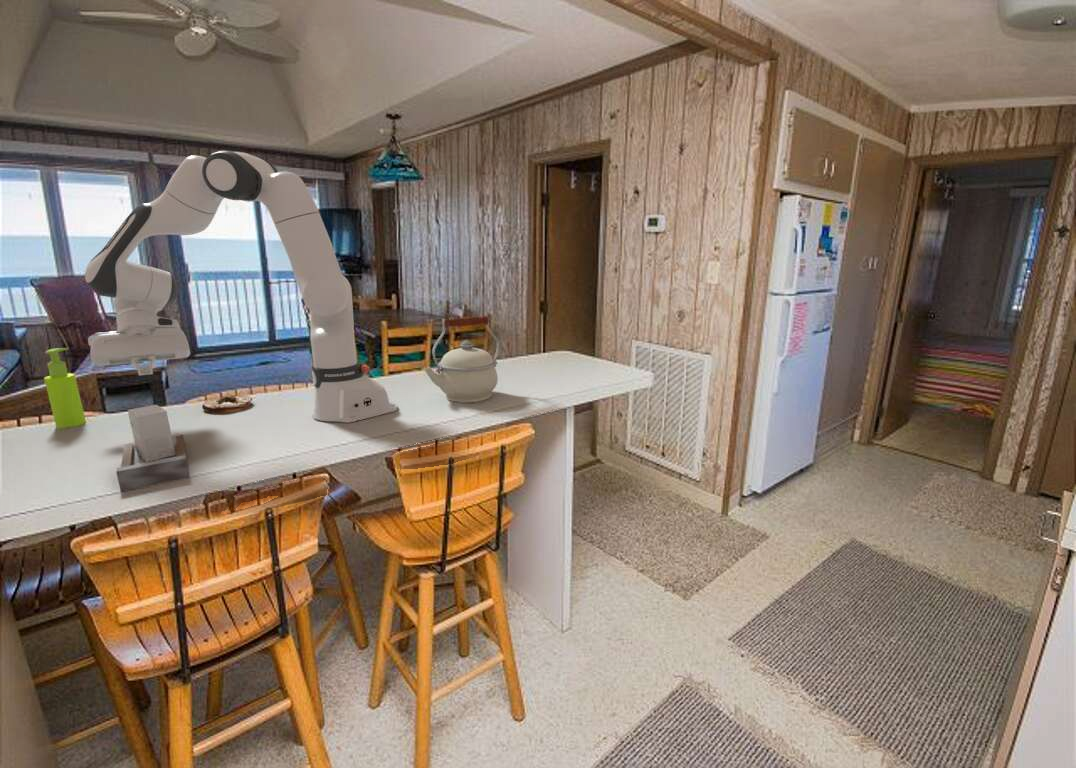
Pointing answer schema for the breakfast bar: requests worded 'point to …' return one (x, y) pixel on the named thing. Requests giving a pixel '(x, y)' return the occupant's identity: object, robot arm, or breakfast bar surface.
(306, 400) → the breakfast bar surface
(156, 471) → the guide channel
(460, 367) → the kettle
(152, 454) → the small box
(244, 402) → the brown speckled ring
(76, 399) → the soap dispenser
